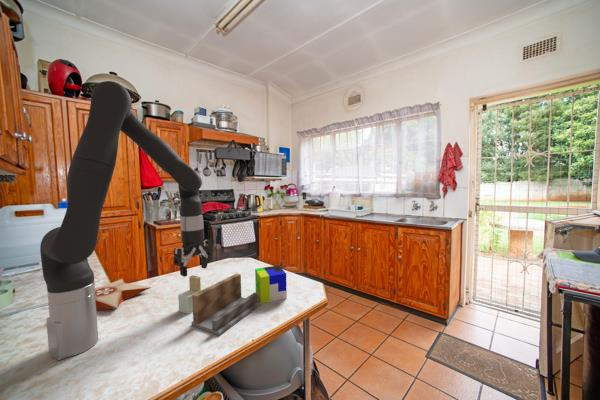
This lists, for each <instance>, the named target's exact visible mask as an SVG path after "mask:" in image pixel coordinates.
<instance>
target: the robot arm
mask: <svg viewBox="0 0 600 400" xmlns="http://www.w3.org/2000/svg"><path fill="white" fill-rule="evenodd" d="M132 104H133V103H132V97H131V95H130V93H129V91H128V89H126V88H125V86H123V85H122V84H120V82H119V83H118V82H116V81H113V80H112V81H111V80H105V81H101V82H99V83H97V84H96V85H94V87H93V88H92V90H91V98H90V106H89V111H88V117H87V120H86V124H85V126H84V129H83V130H82V133H81V136H80V138H79V140H78V142H77V145H76V147H75V149H74V153H73V155H72V157H71V161H70V164H69V167H68V172H67V176H66V193H67V194H66V195H67V197H66V198H67V204H66V211H65V214H64V217H63V220H62V222H61V225H60V226H58V227H54V228H52V229H51V230H49V231H47V233H45V235H44V236H43V237H42V239H41V241H40V244H39V245H40V248H39V249H40V250H39V251H40V261H41V269H42V277H43V280H44V282H45V284H46V291H47V293H46V294H47V302H48V303H47V304H48V315H49V317H48V318H46V331H47V333H46V334H47V345H48V347H47V348H48V354H49V355H50V356H52V357H53V358H55V359H56V360H57V361H61V360H64V359H65V358H69V357H73V356H77V355H79V354H81V353H83V352H86V351H88V350H89V349H91V348H92V347H93V346H95V345H96V344H97V342H98V341H99V330H98V329H99V327H98V319H97V318H98V317H97V315H98V314H97V312H98V311H97V310H96V298H95V288H96V286H95V284H96V283H95V273H94V271H93V269H92V268H91V266H90V263H89V259H88V258H89V257H90V256H91V255H92V254H93V253H94V251H95V249H96V247H97V244H98V239H99V238H98V237H99V229H100V223H101V217H102V212H103V207H104V205H105V202H106V198H107V195H108V192H109V188H110V185H111V182H112V178H113V175H114V172H115V171H114V170H115V167H116V163H117V157H118V150H119V141H120V139H119V138H120V133H121V132H122V133H124V135H126V136H127V137H128V138H129V139H130V140H132V141H133V142H134V144H136V145H137V146H138V147H139V148H140V149H141V150H142V151H143V152H144V153H145V154H146V155H147V156H148V157H149V158H150V159H151V160H152V161H154V163H155V164H156V165H157V166H158V167H159V168H161V170H162V171H164V172H165V173H166V174H168V175H169V176H170V177H171V178H172V179H173V180H174V181H175V182H176V183H177V184H178V187H177V188H178V192H179V199H180V205H179V208H180V209H179V210H180V223H179V224H180V239H181V242H182V246H181V247H174V248H173V265H174V266H177V267H179V274H180V275H181V277H184V278H185V277H187V276H188V266H187V264H188V263H189V261H190V260H191V258H193V257H195V256H200V267H201V268H202V269H204V270H205V269H207V268H208V258H209V257H210V256H212V254H213V253H212V252H213V251H212V244H211V242H212V241H211V240H210V239H205V230H204V229H205V227H204V224H205V223H204V217H203V205H202V201H201V199H200V197H201V196H200V189H201V188H202V185H203V180H202V177H201V176H200V174H198V172H197V171H196V170H195V169H194V168H192V167H191V166H190V165H189V164H188V163H186V162H185V161H184V160H183V158H181V156H180V155H179V154H178V153H177V152H176V151H175V150H174V149H173V148H172V147H171V146H170V145H169V144H168V143H167V142H166V141H165V140H164V139H162V138H161V137H160V136H158V135H157V134H155V133H154V132H153V131H151V130H150V129H149V128H148V127H147V126H146V125H144V123H143V122H141V120H139V117H137V116H136V114H135V113H134V112H133V110H132Z"/></svg>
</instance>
